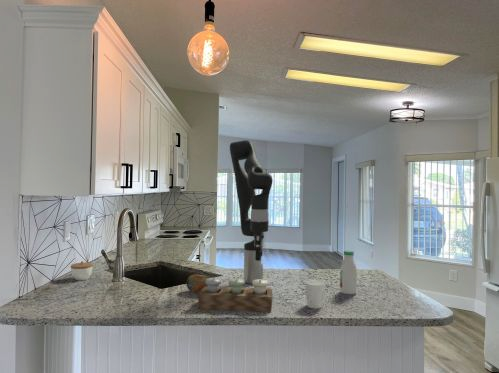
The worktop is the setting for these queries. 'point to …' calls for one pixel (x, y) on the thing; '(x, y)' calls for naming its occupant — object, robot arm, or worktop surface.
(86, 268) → the lidded jar
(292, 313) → the worktop surface
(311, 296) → the white cup
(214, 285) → the grey knob
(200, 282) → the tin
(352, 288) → the milk bottle
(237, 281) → the sage knob
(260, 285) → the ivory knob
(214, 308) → the brown wooden block
